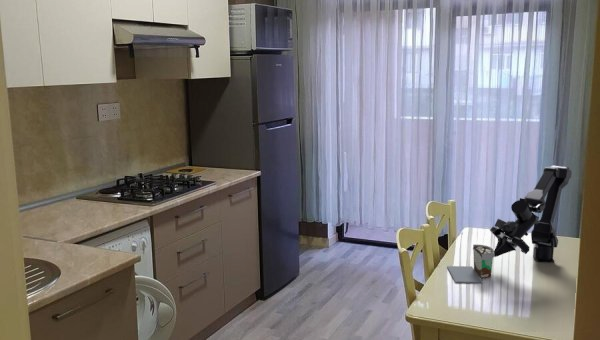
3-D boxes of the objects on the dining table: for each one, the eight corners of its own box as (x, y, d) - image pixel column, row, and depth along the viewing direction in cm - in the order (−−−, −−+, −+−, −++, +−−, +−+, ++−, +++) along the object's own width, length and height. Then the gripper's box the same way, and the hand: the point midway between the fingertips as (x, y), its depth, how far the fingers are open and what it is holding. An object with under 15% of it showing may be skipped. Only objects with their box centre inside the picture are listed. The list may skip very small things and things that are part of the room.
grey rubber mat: (471, 267, 221) (471, 266, 221) (482, 283, 205) (482, 281, 205) (447, 267, 221) (447, 266, 221) (455, 283, 206) (455, 281, 206)
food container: (499, 280, 208) (499, 253, 206) (482, 280, 208) (482, 254, 206) (488, 268, 220) (489, 243, 218) (472, 268, 220) (472, 244, 218)
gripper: (495, 205, 220) (468, 235, 220) (524, 218, 202) (494, 250, 202) (512, 224, 223) (485, 253, 223) (542, 237, 205) (513, 269, 205)
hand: (493, 255), depth 213 cm, fingers closed
